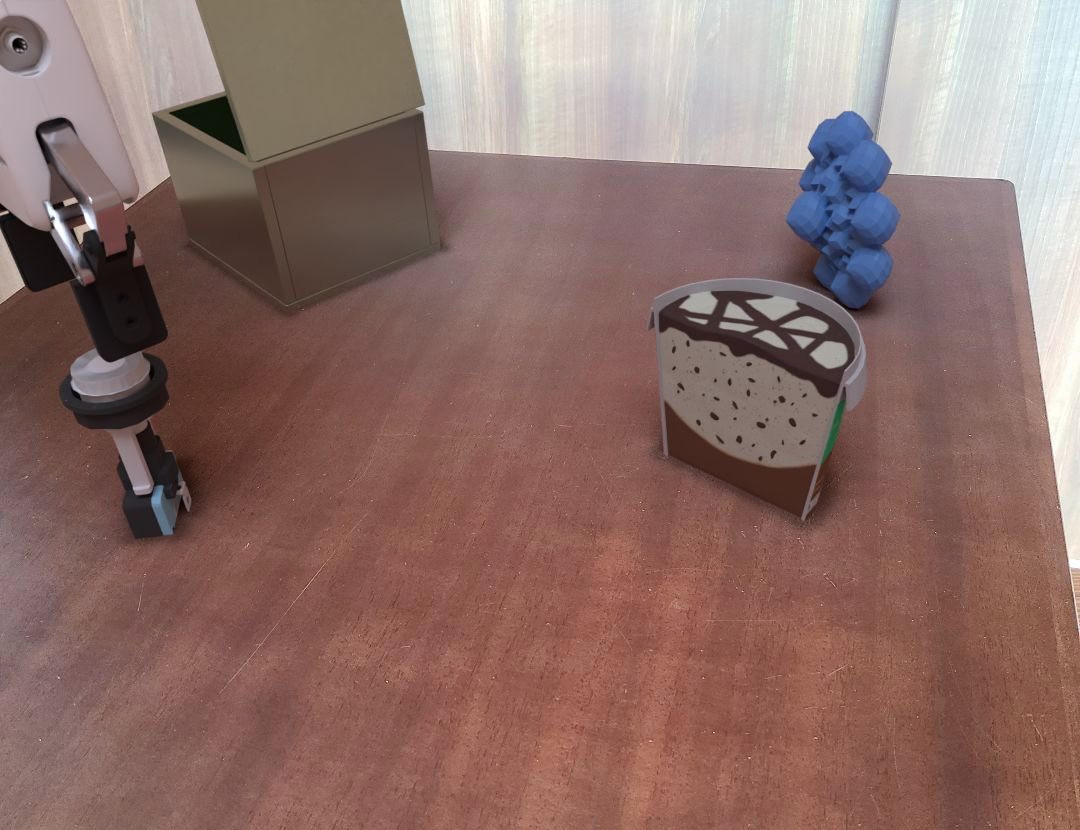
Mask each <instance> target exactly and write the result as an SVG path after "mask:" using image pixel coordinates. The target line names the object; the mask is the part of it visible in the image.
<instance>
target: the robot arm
mask: <svg viewBox="0 0 1080 830" xmlns="http://www.w3.org/2000/svg"><path fill="white" fill-rule="evenodd" d="M134 170H135V169H134V167H133V165H132V162H131V160H130V157H129V154H128V152H127V149H126V146H125V144H124V141H123V138H122V136H121V133H120V130H119V128H118V125H117V123H116V120H115V117H114V114H113V112H112V109H111V106H110V103H109V101H108V98H107V96H106V94H105V91H104V88H103V86H102V83H101V81H100V78H99V75H98V72H97V70H96V68H95V65H94V63H93V60H92V58H91V55H90V52H89V50H88V48H87V45H86V43H85V41H84V38H83V36H82V34H81V30H80V29H79V26H78V24H77V21H76V19H75V17H74V14H73V13H72V10H71V8H70V6H69V4H68V2H67V0H0V214H1V215H0V232H1V234H2V236H3V239H4V241H5V243H6V245H7V248H8V251H9V252H10V255H11V257H12V259H13V262H14V264H15V266H16V268H17V271H18V273H19V275H20V278H21V280H22V282H23V284H24V286H25V287H26V288H27V289H28V290H29V291H30V292H33V293H38V292H41V291H44V290H47V289H50V288H53V287H55V286H58V285H61V284H64V283H67V282H68V284H69V285H70V288H71V291H72V292H73V295H74V298H75V300H76V303H77V305H78V308H79V310H80V312H81V315H82V317H83V320H84V323H85V325H86V327H87V330H88V332H89V335H90V337H91V340H92V342H93V345H94V347H95V349H96V350H97V352H98V354H99V356H100V357H101V358H102V359H103V360H104V361H106V362H109V363H111V362H115V361H117V360H120V359H122V358H124V357H127V356H129V355H132V354H134V353H137V352H139V351H141V352H142V351H145V350H147V349H149V348H151V347H153V346H154V347H155V346H156V345H158V344H161V343H163V342H165V341H166V340H167V338H168V337H169V331H168V328H167V325H166V323H165V320H164V317H163V314H162V311H161V308H160V305H159V302H158V300H157V297H156V294H155V291H154V287H153V285H152V282H151V280H150V276H149V273H148V271H147V268H146V265H145V259H144V256H143V253H142V252H141V249H140V247H139V246H138V244H137V242H136V239H137V235H136V233H135V230H132V226H131V225H130V224H127V223H128V222H127V216H126V210H125V204H126V205H131V204H133V203H135V202H136V201H137V199H138V197H139V194H140V185H139V182H138V179H137V177H136V173H135V171H134ZM74 198H75V200H76V201H77V202H73V203H71V204H67V205H65V201H68V200H71V199H74ZM5 212H7V213H5ZM2 213H4V214H2ZM83 225H87V226H88V227H89V230H87V231H83V233H82V241H81V244H82V247H81V244H80V241H79V239H78V237H77V234H76V231H75V228H78V227H81V226H83Z"/></svg>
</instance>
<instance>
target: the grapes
mask: <svg viewBox="0 0 1080 830" xmlns="http://www.w3.org/2000/svg"><path fill="white" fill-rule="evenodd" d="M873 137H874V132H873V130H872V129H871V127H870V126H869V124H868V123H867V122H866V120H865V118H864V117H862V116H861V115H860V114H858V113H857V112H855V111H854V110H845V111H844V110H843V111H842V112H840V114H839V115H837V116H836V117H835V118H825V119H824V120H823V121H821V122H820V123H819V124H818V125H817V127H816V129H815V130H814V132H813V134H812V136H811V137H810V140H809V142H808V145H807V147H806V148H807V150H808V151H809V153H810V155H811V156H812V157H813V158H811V160H809V162H808V163H807V165H806V166H805V168H804V170H803V172H802V174H801V177H800V179H799V181H798V186H799V187H800V189H801V190H802V193H800V194H799V195H798V196H797V197H796V198H795V199H794V201H793V203H792V205H791V207H790V209H789V211H788V213H787V215H786V218H785V222H786V223H787V226H789V228H790V230H791V231H792V232H793V233H794V235H796V236H797V237H798V238H800V240H802V241H804V242H806V243H808V244H809V246H811V247H812V248H813V249H815V250H816V251H818V252H819V253H820V255H819V257H818V259H817V261H816V263H815V266H814V269H813V271H812V273H813V275H814V276H815V277H816V279H817V281H819V283H820V284H821V285H822V286H823V287H824V288H826V289H827V290H828V291H830V292H832V293H833V294H834V295H835V297H836V298H837V299H838V300H839V302H841V303H842V304H843V305H844V306H846V307H847V308H850V309H861V308H862V307H864V306H865V305H867V304H868V302H869V300H870V299H871V298H872V296H873V294H874V292H876V291H878V290H880V289H881V288H882V287H884V285H885V284H886V282H887V281H888V279H889V277H890V275H891V273H892V270H893V267H894V265H895V260H894V259H893V257H892V255H891V254H890V253H889V251H888V250H887V249H886V248H885V247H884V244H886V243H887V242H888V241H890V240H891V238H892V236H893V234H894V233H895V232H896V229H897V227H898V225H899V222H900V218H901V213H900V211H899V209H898V207H897V206H896V205H895V204H894V202H893V201H892V200H891V199H890V198H889V197H888V196H886V195H885V194H883V193H882V192H880V191H879V190H880V189H881V188H882V187H883V185H884V184H885V181H886V180H887V178H888V177H889V174H890V171H891V168H892V166H893V162H892V160H891V158H890V157H889V154H888V153H887V152H886V150H884V147H882V146H881V145H880V144H878V143H877V142H875V141H874V140H873ZM878 191H879V192H878Z"/></svg>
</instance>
